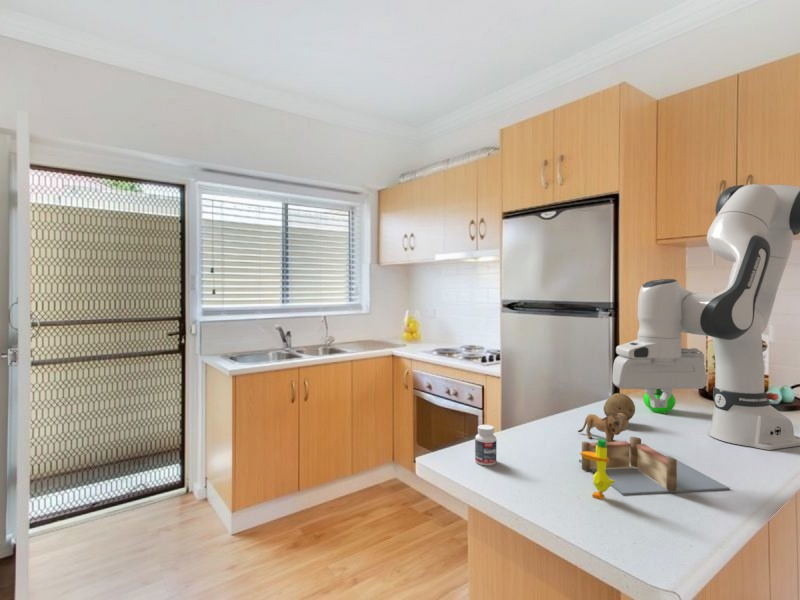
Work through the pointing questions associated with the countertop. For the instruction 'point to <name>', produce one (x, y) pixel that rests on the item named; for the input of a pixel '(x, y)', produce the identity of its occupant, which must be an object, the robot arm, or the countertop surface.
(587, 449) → the fence section
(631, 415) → the natural sponge
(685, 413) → the countertop surface
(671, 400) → the plastic bottle
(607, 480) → the toy figure
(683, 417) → the countertop surface
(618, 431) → the lion figurine
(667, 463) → the fence panel
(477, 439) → the pill bottle
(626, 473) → the board
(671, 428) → the countertop surface
